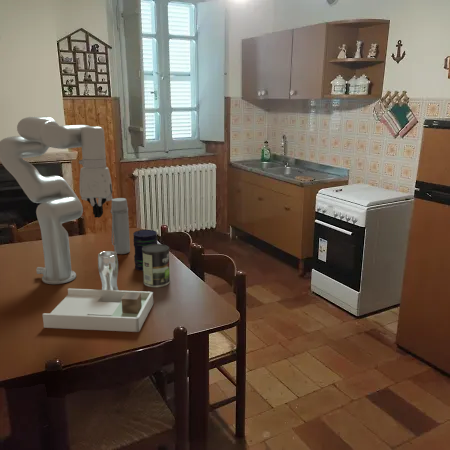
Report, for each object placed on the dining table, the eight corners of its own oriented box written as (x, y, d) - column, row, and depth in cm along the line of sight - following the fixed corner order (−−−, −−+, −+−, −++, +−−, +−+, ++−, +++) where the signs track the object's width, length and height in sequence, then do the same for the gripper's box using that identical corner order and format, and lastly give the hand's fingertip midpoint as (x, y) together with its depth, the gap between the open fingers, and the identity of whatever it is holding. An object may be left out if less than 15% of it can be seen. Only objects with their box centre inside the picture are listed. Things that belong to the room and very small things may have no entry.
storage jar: (160, 263, 193) (159, 230, 189) (155, 271, 184) (153, 236, 180) (138, 262, 194) (136, 229, 190) (131, 270, 185) (129, 236, 181)
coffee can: (173, 278, 177) (172, 244, 173) (165, 288, 167) (164, 253, 163) (149, 276, 179) (147, 242, 175) (139, 286, 169) (137, 251, 165)
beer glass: (102, 297, 159) (99, 258, 155) (98, 290, 165) (95, 252, 161) (121, 294, 162) (119, 255, 158) (117, 287, 168) (114, 249, 164)
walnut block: (122, 313, 143) (121, 298, 141) (126, 306, 147) (126, 292, 146) (137, 313, 142) (136, 299, 141) (141, 306, 147) (141, 292, 146)
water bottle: (122, 248, 211) (119, 197, 204) (134, 251, 207) (131, 199, 200) (107, 253, 204) (103, 200, 197) (118, 257, 200) (115, 203, 193)
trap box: (44, 327, 138) (42, 314, 137) (69, 300, 157) (68, 288, 156) (138, 331, 136) (138, 318, 135) (153, 303, 155) (153, 291, 154)
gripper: (68, 165, 147) (73, 218, 152) (112, 166, 146) (116, 220, 151) (77, 162, 154) (81, 213, 159) (119, 162, 153) (122, 214, 158)
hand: (98, 216), depth 155 cm, fingers closed
